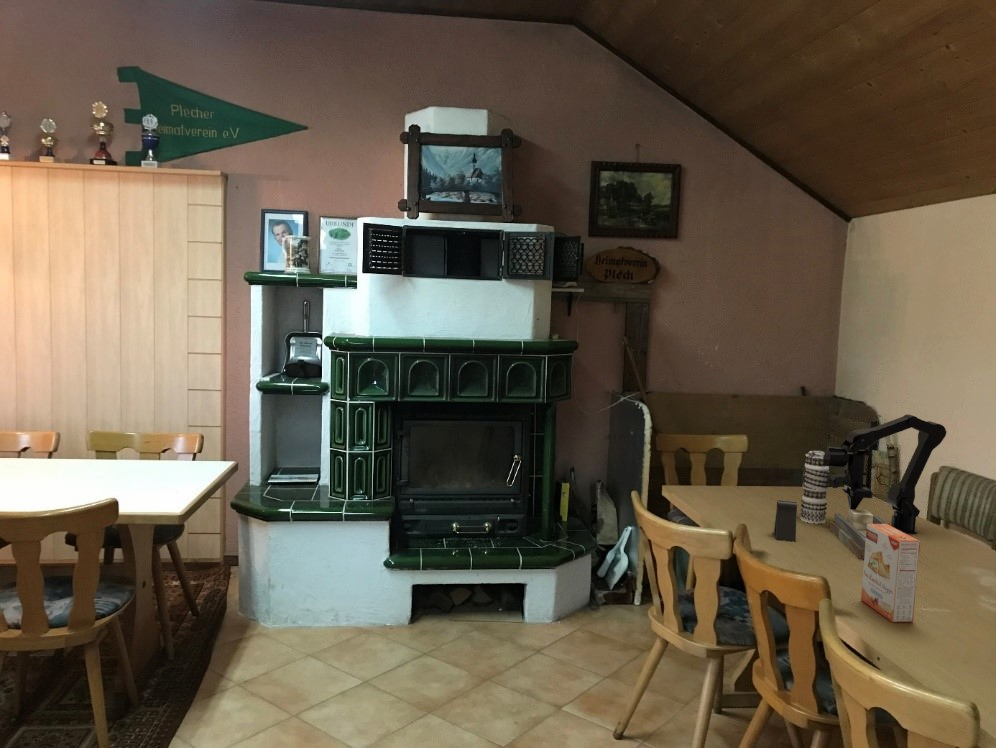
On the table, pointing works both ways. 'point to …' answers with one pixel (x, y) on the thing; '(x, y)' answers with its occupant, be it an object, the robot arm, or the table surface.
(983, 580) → the table surface
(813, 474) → the decorative candle
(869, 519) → the cream block
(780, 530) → the phone stand
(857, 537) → the channel board
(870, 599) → the cracker box
